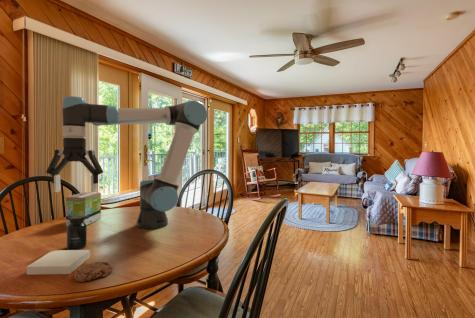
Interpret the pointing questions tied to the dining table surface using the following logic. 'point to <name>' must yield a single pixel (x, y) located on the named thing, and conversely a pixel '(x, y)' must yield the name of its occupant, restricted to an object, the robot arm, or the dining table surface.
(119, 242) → the dining table surface
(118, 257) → the dining table surface
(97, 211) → the tea box
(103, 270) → the cookie
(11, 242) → the dining table surface
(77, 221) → the supplement bottle
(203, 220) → the dining table surface
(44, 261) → the ceramic tile
